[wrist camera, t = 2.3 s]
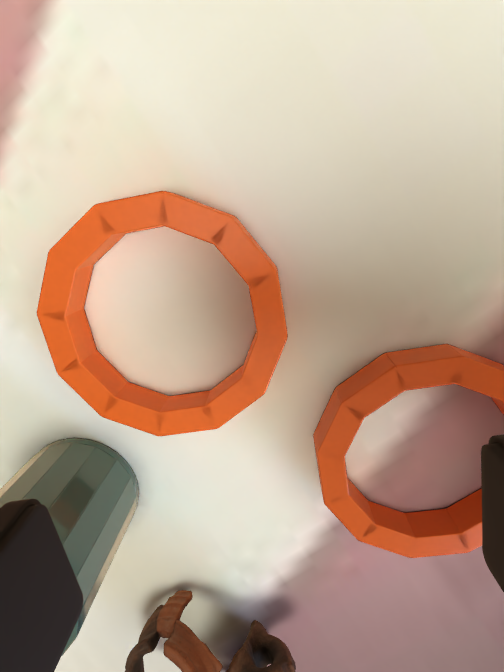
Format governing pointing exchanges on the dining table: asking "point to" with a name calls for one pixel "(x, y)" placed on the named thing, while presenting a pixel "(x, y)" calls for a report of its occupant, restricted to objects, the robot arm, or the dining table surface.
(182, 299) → the dining table surface
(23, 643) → the robot arm
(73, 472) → the tumbler
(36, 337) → the dining table surface
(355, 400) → the orange ring
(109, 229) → the orange ring
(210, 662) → the broken clay pot
